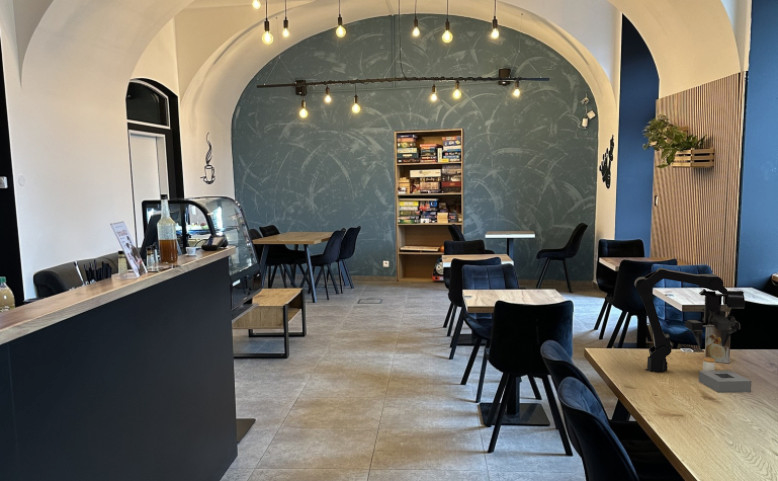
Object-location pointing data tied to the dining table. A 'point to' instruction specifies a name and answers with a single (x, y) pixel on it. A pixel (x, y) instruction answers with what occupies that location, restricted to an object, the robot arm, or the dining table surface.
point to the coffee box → (716, 346)
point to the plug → (708, 364)
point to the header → (724, 381)
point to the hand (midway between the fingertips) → (711, 346)
